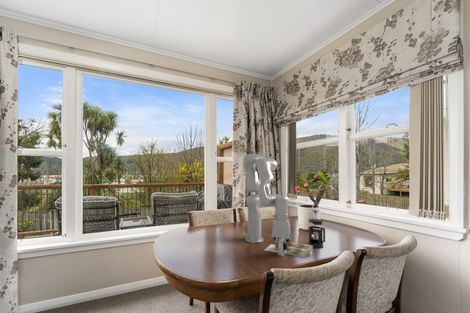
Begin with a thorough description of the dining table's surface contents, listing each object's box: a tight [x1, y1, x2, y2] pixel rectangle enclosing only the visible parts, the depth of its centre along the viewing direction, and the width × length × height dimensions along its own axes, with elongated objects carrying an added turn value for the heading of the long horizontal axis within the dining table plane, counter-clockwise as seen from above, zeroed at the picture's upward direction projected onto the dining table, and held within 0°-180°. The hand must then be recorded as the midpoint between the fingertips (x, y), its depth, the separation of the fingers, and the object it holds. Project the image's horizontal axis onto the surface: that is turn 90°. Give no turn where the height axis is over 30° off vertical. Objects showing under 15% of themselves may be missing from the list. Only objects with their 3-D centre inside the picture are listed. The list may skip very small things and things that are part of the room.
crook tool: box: [277, 238, 286, 257], centre depth 140 cm, size 3×12×8 cm, turn 154°
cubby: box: [286, 241, 314, 258], centre depth 141 cm, size 14×11×4 cm
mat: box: [264, 243, 311, 259], centre depth 143 cm, size 26×13×1 cm, turn 63°
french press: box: [307, 209, 326, 250], centre depth 153 cm, size 12×9×23 cm
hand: (281, 249), depth 137 cm, fingers closed on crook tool, 2 cm apart
